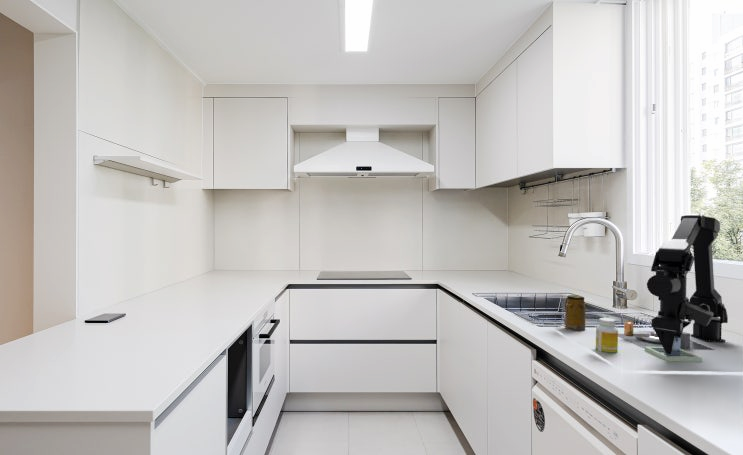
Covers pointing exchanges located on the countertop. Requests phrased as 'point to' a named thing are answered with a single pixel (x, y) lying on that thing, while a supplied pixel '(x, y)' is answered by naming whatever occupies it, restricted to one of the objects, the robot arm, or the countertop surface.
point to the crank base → (685, 344)
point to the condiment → (575, 313)
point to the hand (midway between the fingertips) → (672, 350)
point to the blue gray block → (675, 347)
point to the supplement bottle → (607, 336)
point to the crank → (640, 333)
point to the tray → (686, 357)
